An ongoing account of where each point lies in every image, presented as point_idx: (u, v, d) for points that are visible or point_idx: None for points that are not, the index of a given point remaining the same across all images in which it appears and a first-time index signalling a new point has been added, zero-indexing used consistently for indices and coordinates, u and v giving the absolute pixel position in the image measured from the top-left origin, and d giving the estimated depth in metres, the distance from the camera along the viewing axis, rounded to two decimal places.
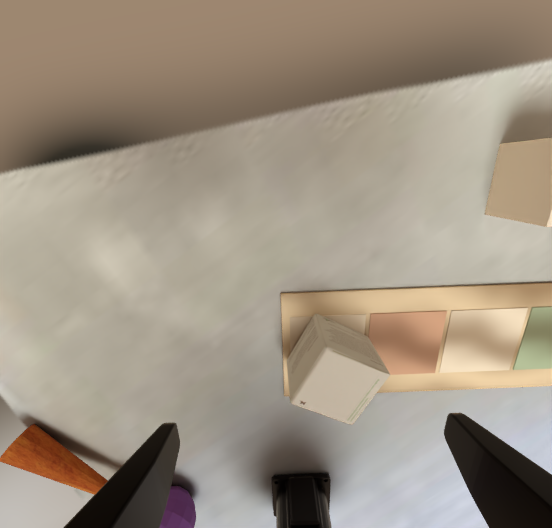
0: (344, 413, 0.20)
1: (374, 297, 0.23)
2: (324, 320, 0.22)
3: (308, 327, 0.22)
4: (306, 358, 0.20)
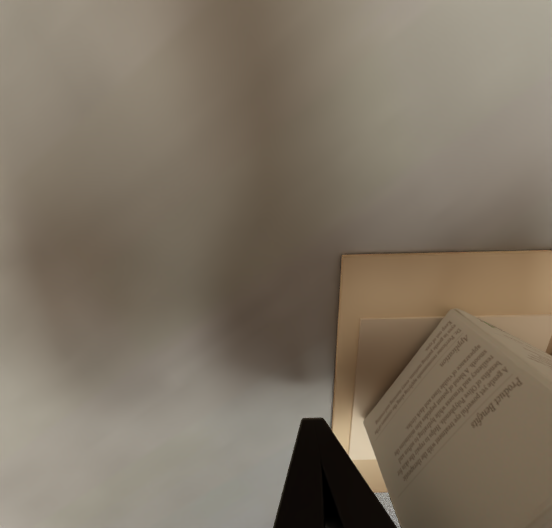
0: None
1: None
2: (488, 326, 0.08)
3: (438, 344, 0.08)
4: (478, 454, 0.06)
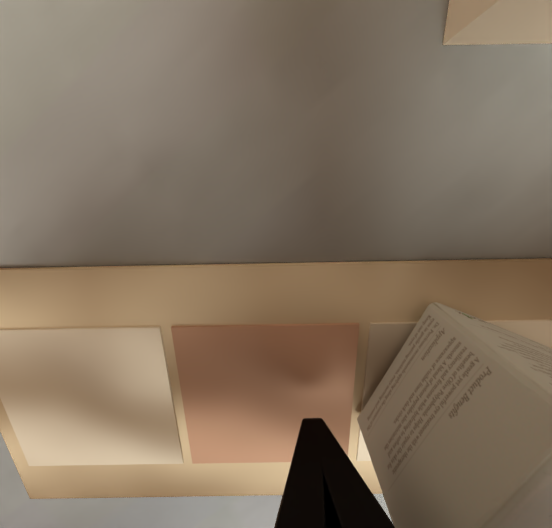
0: None
1: (171, 284, 0.09)
2: (465, 317, 0.08)
3: (419, 339, 0.09)
4: (455, 443, 0.06)
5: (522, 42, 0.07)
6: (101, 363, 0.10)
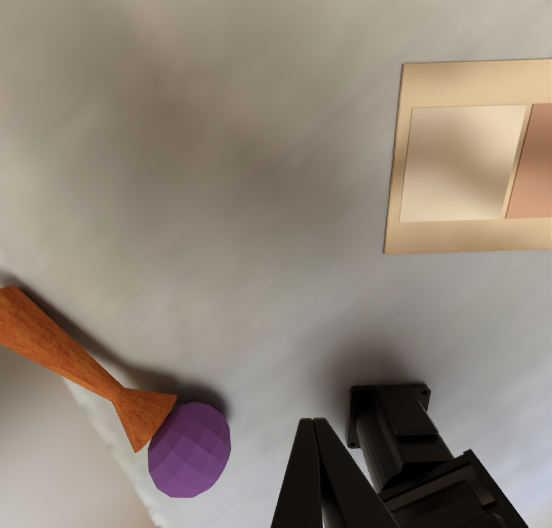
0: None
1: (543, 72, 0.15)
2: None
3: None
4: None
5: None
6: (477, 134, 0.16)
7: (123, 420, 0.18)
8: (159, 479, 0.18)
